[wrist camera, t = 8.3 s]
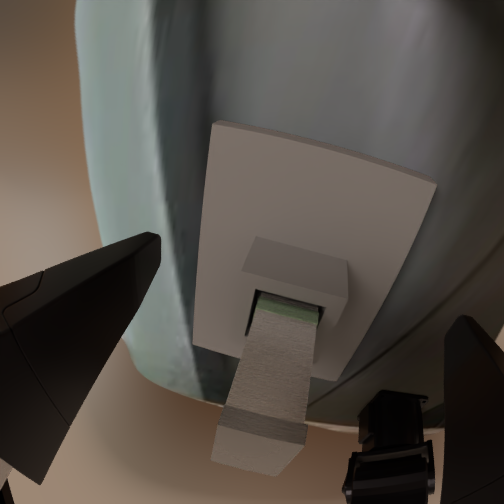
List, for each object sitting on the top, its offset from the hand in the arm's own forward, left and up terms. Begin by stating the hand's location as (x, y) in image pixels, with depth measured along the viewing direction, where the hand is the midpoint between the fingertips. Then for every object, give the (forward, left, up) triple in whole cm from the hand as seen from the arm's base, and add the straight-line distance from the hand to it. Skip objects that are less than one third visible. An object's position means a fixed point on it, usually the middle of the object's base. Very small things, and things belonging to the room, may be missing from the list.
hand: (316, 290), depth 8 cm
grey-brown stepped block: (0, +9, -8) cm, 12 cm away
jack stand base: (0, +9, -13) cm, 16 cm away
